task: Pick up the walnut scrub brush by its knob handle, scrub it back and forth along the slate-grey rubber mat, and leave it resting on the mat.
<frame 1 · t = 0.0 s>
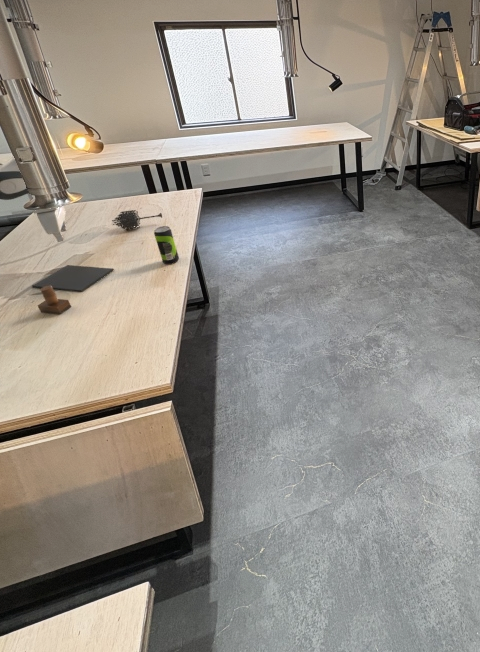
hand: (62, 235, 146), 22 cm above the table, tool pointing down, fingers open, 8 cm apart
mat: (74, 278, 162), on the table
beverage can: (171, 261, 173), on the table
massage brush: (139, 228, 205), on the table
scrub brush: (56, 309, 144), on the table
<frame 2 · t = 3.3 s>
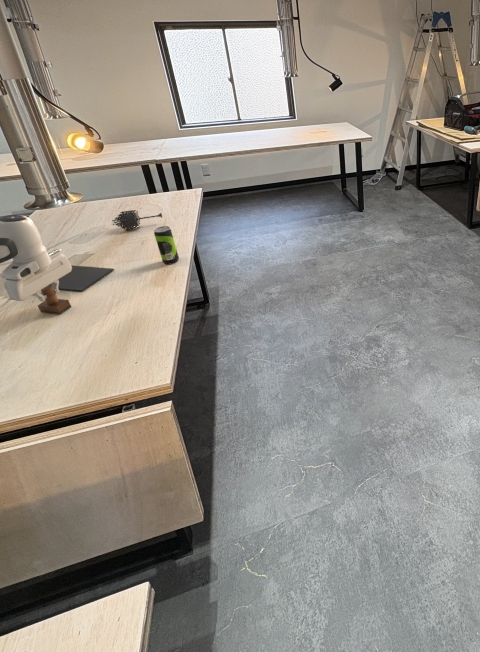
hand: (49, 296, 141), 6 cm above the table, tool pointing down, fingers closed on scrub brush, 3 cm apart
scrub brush: (56, 309, 144), on the table, touching gripper
everything else where it was.
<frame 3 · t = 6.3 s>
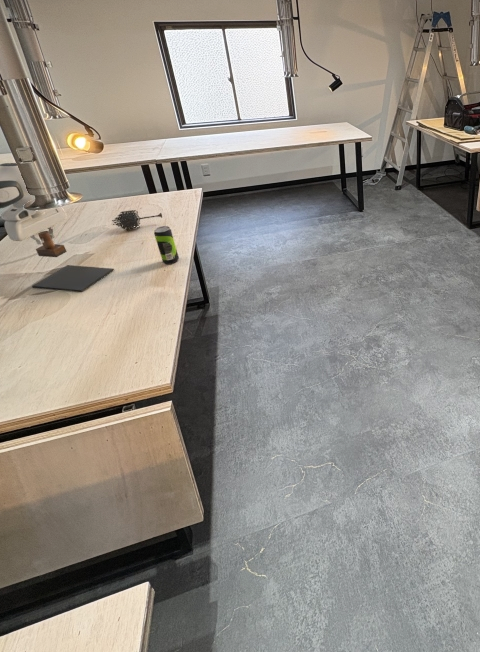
hand: (46, 240, 154), 17 cm above the table, tool pointing down, fingers closed on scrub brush, 3 cm apart
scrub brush: (52, 253, 156), point 12 cm above the table, touching gripper
everything else where it was.
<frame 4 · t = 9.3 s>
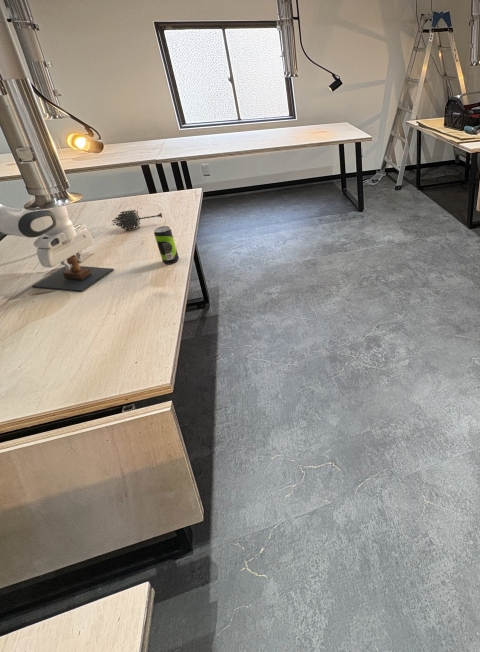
hand: (74, 265, 159), 6 cm above the table, tool pointing down, fingers closed on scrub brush, 3 cm apart
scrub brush: (78, 276, 162), point 1 cm above the table, touching gripper
everything else where it was.
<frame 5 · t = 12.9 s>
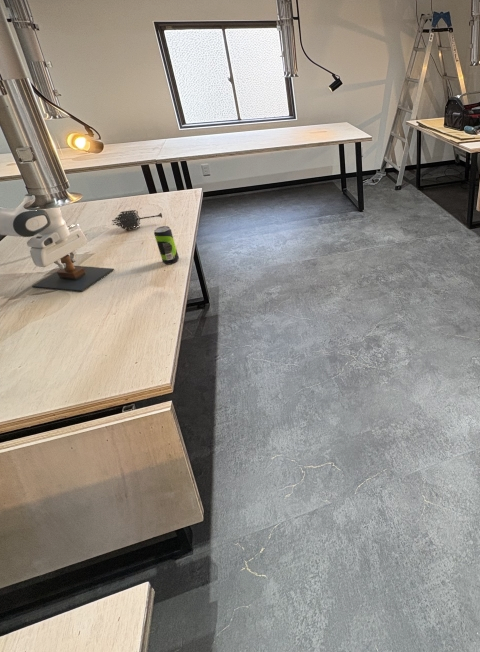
hand: (68, 265, 160), 6 cm above the table, tool pointing down, fingers closed on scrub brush, 3 cm apart
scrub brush: (72, 276, 162), point 1 cm above the table, touching gripper
everything else where it was.
when the fingers open (6 cm above the table, at t = 15.5 s): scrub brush stays where it is, resting on mat.
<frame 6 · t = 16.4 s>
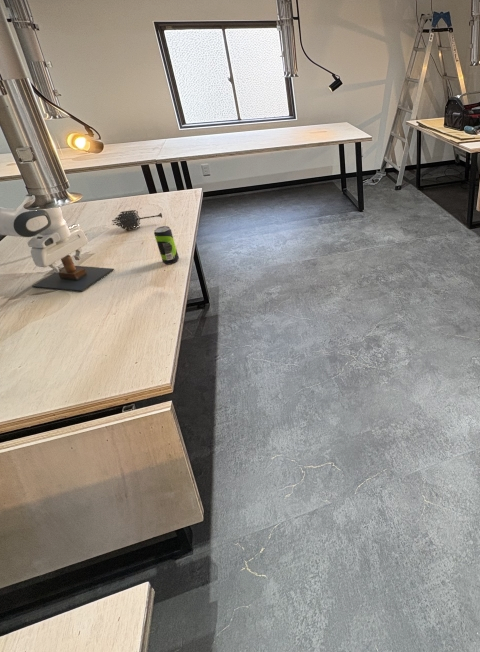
hand: (68, 265, 159), 6 cm above the table, tool pointing down, fingers open, 8 cm apart
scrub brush: (73, 276, 162), point 1 cm above the table, touching mat
everything else where it was.
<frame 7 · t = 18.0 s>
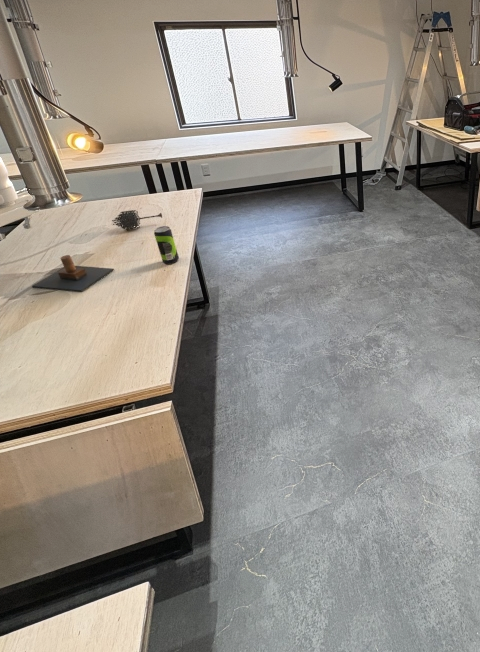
hand: (15, 233, 143), 24 cm above the table, tool pointing down, fingers open, 8 cm apart
nothing on the table moved.
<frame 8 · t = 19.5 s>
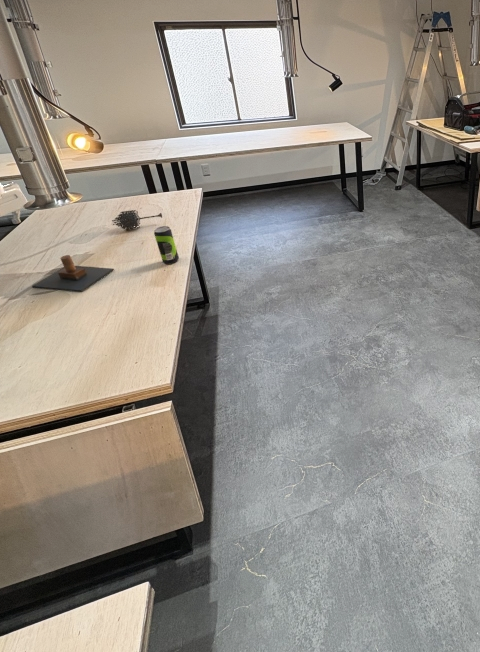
hand: (4, 228, 140), 27 cm above the table, tool pointing down, fingers open, 8 cm apart
nothing on the table moved.
at the end: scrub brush inside the target area on the mat (0.1 cm from its centre), point 0.8 cm above the mat's base; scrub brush tilted 0°; the gripper is holding nothing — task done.
